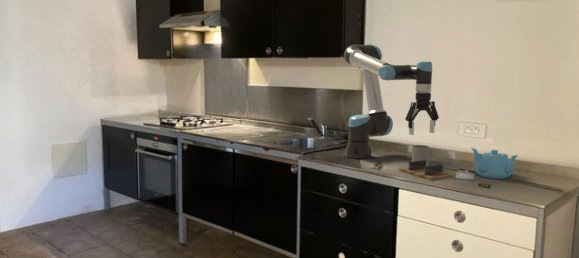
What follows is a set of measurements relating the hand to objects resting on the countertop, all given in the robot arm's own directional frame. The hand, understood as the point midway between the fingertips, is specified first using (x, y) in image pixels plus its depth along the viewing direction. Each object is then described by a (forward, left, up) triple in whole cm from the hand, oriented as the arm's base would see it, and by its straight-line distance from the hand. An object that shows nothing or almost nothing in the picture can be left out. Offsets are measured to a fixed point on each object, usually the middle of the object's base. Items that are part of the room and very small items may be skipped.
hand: (421, 133), depth 250 cm
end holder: (+16, -11, -17) cm, 25 cm away
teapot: (+33, +14, -17) cm, 39 cm away
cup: (0, 0, -17) cm, 17 cm away
